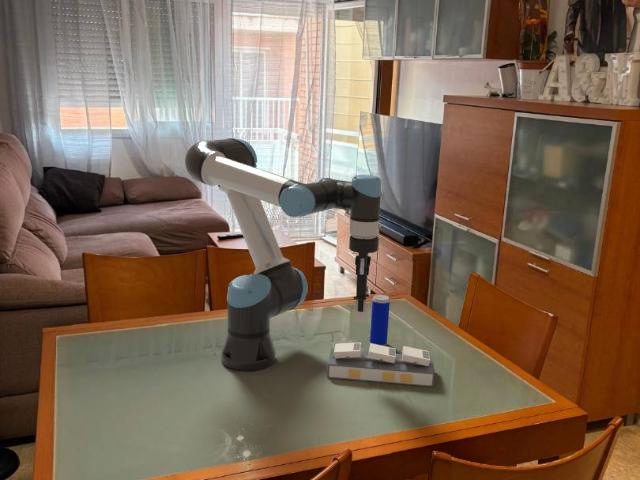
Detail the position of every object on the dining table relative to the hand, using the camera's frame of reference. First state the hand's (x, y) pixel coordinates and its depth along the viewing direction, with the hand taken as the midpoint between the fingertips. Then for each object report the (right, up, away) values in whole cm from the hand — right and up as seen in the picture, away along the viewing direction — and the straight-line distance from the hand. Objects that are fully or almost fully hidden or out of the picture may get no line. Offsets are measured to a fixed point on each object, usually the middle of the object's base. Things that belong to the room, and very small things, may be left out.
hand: (360, 321), depth 164 cm
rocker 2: (+6, -10, +2) cm, 11 cm away
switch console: (+6, -15, +3) cm, 16 cm away
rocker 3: (+15, -10, +1) cm, 18 cm away
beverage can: (+7, -10, +23) cm, 26 cm away
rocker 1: (-3, -9, +3) cm, 10 cm away
